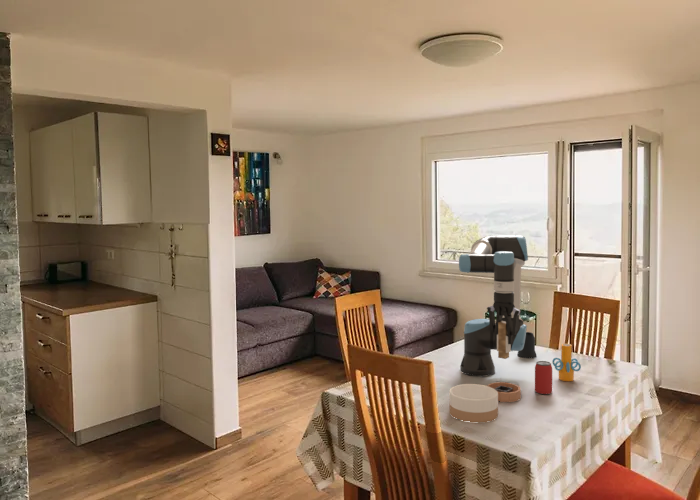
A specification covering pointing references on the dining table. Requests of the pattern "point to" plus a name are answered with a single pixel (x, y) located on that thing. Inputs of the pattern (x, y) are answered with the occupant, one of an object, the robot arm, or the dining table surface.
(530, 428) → the dining table surface
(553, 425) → the dining table surface
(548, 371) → the beer can
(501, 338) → the tall wooden post
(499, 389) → the clip
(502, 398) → the shallow terracotta dish
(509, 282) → the robot arm
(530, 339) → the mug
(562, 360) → the cylinder
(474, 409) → the bowl
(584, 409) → the dining table surface
